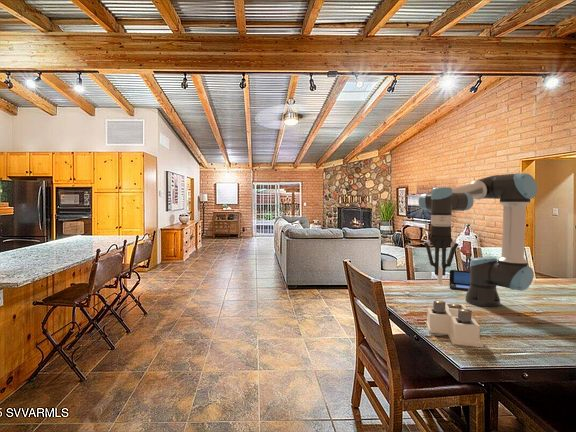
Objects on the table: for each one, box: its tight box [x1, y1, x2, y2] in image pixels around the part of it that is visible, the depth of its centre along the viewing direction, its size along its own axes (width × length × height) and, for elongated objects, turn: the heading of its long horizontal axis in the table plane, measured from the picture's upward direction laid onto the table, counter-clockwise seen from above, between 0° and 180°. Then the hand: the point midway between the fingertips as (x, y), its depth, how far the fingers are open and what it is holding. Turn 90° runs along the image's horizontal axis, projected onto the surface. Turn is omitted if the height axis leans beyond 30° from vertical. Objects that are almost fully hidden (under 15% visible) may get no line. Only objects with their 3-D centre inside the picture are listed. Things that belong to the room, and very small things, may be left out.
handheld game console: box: [449, 269, 470, 292], centre depth 189 cm, size 16×13×9 cm
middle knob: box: [432, 299, 446, 314], centre depth 129 cm, size 4×4×6 cm
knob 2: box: [458, 308, 473, 324], centre depth 119 cm, size 4×4×6 cm
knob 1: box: [450, 303, 461, 309], centre depth 135 cm, size 4×4×6 cm
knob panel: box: [425, 302, 484, 348], centre depth 128 cm, size 17×27×7 cm, turn 163°
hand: (439, 283), depth 129 cm, fingers closed
